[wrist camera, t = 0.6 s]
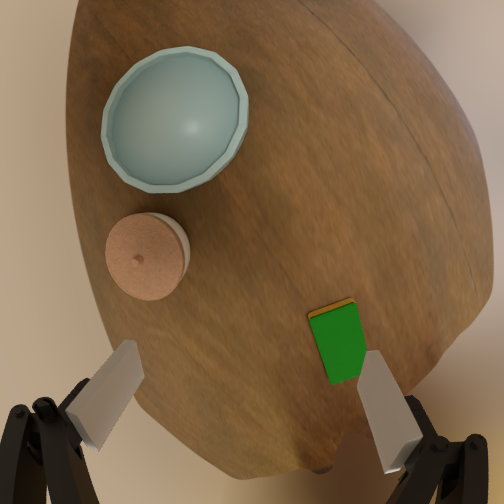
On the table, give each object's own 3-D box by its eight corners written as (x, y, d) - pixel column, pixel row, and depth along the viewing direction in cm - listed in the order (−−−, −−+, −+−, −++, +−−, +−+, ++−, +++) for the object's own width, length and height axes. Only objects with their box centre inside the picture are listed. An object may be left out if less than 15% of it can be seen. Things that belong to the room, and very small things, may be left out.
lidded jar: (175, 293, 40) (150, 323, 31) (121, 251, 39) (86, 269, 30) (214, 237, 37) (196, 255, 28) (154, 192, 36) (121, 196, 27)
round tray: (118, 66, 32) (111, 61, 29) (252, 49, 30) (250, 41, 28) (108, 193, 37) (99, 194, 34) (246, 193, 35) (244, 194, 33)
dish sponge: (328, 377, 42) (330, 385, 40) (306, 312, 39) (308, 319, 37) (367, 363, 41) (371, 371, 39) (351, 295, 38) (355, 302, 36)
